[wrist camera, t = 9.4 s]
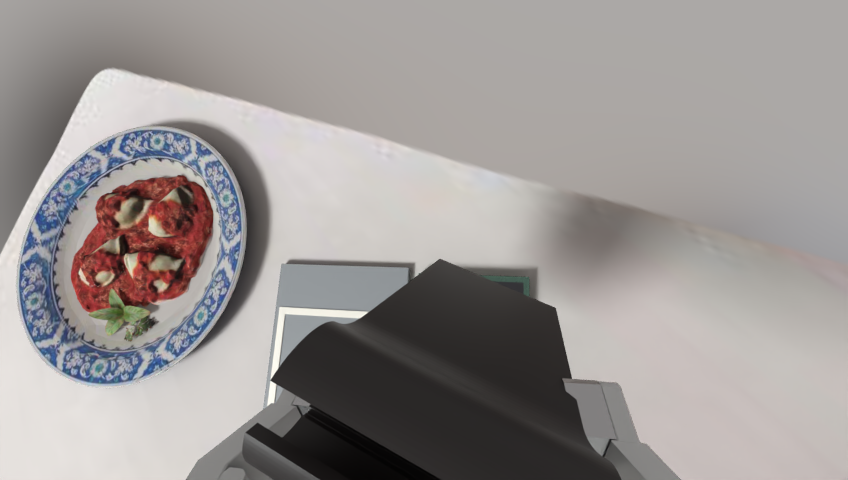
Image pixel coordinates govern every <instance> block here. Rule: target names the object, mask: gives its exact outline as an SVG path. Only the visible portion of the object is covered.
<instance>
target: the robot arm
mask: <svg viewBox="0 0 848 480" xmlns="http://www.w3.org/2000/svg"><path fill="white" fill-rule="evenodd" d="M561 380H562V382H563V385H564V388H565V390H566V392H568V393H569V394H570V395H572V396H573V397H574V398H575V399H577V403H578V407H579V412H580V416H581V420H582V424H583V428H584V431H585V434H586V436H587V439H588V441H589V442H590V444H591V446H592V447H593V448H594V449H595V450H596V451H597V452H598V453H599V454H600V455H601V456H603V457H605V458H606V459H608V460H609V461H610V462H612V464H613V465H614V466H615V468H616V469H617V471H618V473H619V475H620V477H621V480H681V479H680V478H679V477H678V476H677V475H676V474H675V473H674V472H673V471H672V470H671V469H670V468H669V467H668V466H667V465H666V464H665V463H664V462H663V461H662V460H661V459H660V457H659V456H658V455H657V454H656V453H655V452H654V451H653V450H652V449H651V448H650V447H649V446H648V445H647V444H644V443H640V441H639V438H638V435H637V432H636V429H635V426H634V424H633V421H632V418H631V415H630V412H629V409H628V406H627V404H626V401H625V398H624V395H623V392H622V389H621V387H620V385H619V384H618V383H616V382H600V381H595V380H579V379H564V378H562V379H561ZM309 405H311V404H310V403H308V402H306V401H304V400H303V399H301V398H299V397H297V396H296V395H294V394H292V393H291V392H289V391H287V390H285V389H283V391H282V392H281V394H280V396H279V398H278V400H277V402H276V403H271V404H270V405H268V406H267V407H266V408H264V409H263V410H262V411H261V412H259V413H258V414H257V415H256V416H254V417H253V418H252V419H250V420H249V421H248V422H247V423H245V424H244V425H243V426H241V427H240V428H239V429H238V430H236V431H235V432H234V433H233V434H231V435H230V436H229V437H227V438H226V439H225V440H224V441H222V442H221V443H220V444H219V445H217V446H216V447H215V448H213V449H212V450H211V451H210V452H208V453H207V454H206V455H204V456H203V457H202V458H201V459H199V460H198V461H197V463H196V464H195V466H194V468H193V469H192V471H191V472H190V474H189V475H188V477H187V479H186V480H273V479H271V478H270V477H268V476H267V475H265V474H264V473H262V472H261V471H259V470H258V469H256V468H255V467H253V466H251V465H250V464H248V463H247V462H246V461H245V460H244V458H243V455H242V445H243V439H244V435H245V432H246V431H248V430H249V429H250V428H251V427H253V426H254V425H255V424H256V423H257V422H258V423H259V424H261V425H262V426H264V427H266V428H267V429H269V430H271V431H272V432H274V433H275V434H277V435H279V436H280V437H283V436H284V435H285V434H286V433H287V432H288V431H289V430H290V429H291V428H292V427H293V426H294V425H295V424H296V422H297V421H298V420H299V419H300V418H301V416H302V415H304V414H306V412H307V410H308V407H309Z"/></svg>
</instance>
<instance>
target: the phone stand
mask: <svg viewBox="0 0 848 480" xmlns="http://www.w3.org/2000/svg"><path fill="white" fill-rule="evenodd" d="M562 378H564V379H572V377H571V373H570V368H569V364H568V360H567V355H566V351H565V347H564V342H563V338H562V334H561V329H560V325H559V321H558V316H557V312H556V308H554V307H552V306H550V305H547V304H545V303H543V302H540V301H538V300H536V299H533V298H531V297H529V296H526V295H524V294H522V293H519V292H517V291H514V290H512V289H510V288H507V287H505V286H503V285H500V284H498V283H496V282H493V281H491V280H489V279H486V278H484V277H482V276H479V275H477V274H475V273H472V272H470V271H467V270H465V269H463V268H460V267H458V266H456V265H453V264H451V263H449V262H446V261H444V260H442V259H439V260H438V261H436V262H435V263H434V264H432V265H431V266H430V267H428V268H427V269H426V270H424V271H423V272H422V273H420V274H419V275H418V276H416V277H415V278H414V279H412V280H411V281H410V282H408V283H407V284H406V285H404V286H403V287H402V288H400V289H399V290H398V291H396V292H395V293H394V294H392V295H391V296H390V297H388V298H387V299H385V300H384V301H383V302H381V303H380V304H379V305H377V306H376V307H375V308H373V309H372V310H371V311H369V312H368V313H367V314H365V315H364V316H363V317H361V318H360V319H358V320H356V321H354V322H352V323H348V324H341V323H338V322H335V321H330V322H326V323H324V324H322V325H320V326H318V327H317V328H315V329H314V330H313V331H311V332H310V333H309V334H308V335H307V336H306V337H305V338H304V339H303V340H302V341H301V342H300V343H299V344H298V345H297V346H296V347H295V348H294V349H293V350H292V351H291V353H290V354H289V355H288V356H287V357H286V359H285V360H284V361H283V363H282V364H281V365H280V367H279V368H278V369H277V371H276V372H275V374H274V375H273V377H272V378H271V380H270V381H272V382H273V383H275V384H277V385H278V386H280V387H282V388H284V389H285V390H287V391H289V392H291V393H292V394H294V395H296V396H297V397H299V398H301V399H303V400H304V401H306V402H308V403H310V404H311V405H309V407H308V410H307V412H306V414H304V415H302V416H301V418H300V419H299V420H298V421H297V422H296V424H295V425H294V426H293V427H292V428H291V429H290V430H289V431H288V432H287V433H286V434H285V435H284V436H283V437H280V436H279V435H277V434H275V433H274V432H272V431H271V430H269V429H267V428H266V427H264V426H262V425H261V424H259V423H258V422H257V423H256V424H255V425H254V426H253V427H251V428H250V429H249V430H248V431H246V432H245V435H244V439H243V445H242V455H243V458H244V460H245V461H246V462H247V463H248V464H250V465H251V466H253V467H255V468H256V469H258V470H259V471H261V472H262V473H264V474H265V475H267V476H268V477H270V478H271V479H273V480H621V477H620V475H619V473H618V471H617V469H616V468H615V466H614V465H613V464H612V462H610V461H609V460H608V459H606V458H605V457H603V456H601V455H600V454H599V453H598V452H597V451H596V450H595V449H594V448H593V447H592V446H591V444H590V442H589V441H588V439H587V436H586V434H585V431H584V428H583V424H582V420H581V416H580V412H579V407H578V403H577V399H575V398H574V397H573V396H572V395H570V394H569V393H568V392H566V390H565V388H564V385H563V382H562V380H561V379H562Z"/></svg>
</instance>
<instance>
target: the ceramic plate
mask: <svg viewBox="0 0 848 480" xmlns="http://www.w3.org/2000/svg"><path fill="white" fill-rule="evenodd" d="M246 237H247V220H246V210H245V204H244V199H243V195H242V192H241V189H240V186H239V183H238V181H237V179H236V176H235V174H234V173H233V171H232V169H231V167H230V166H229V164H228V163H227V162H226V160H225V159H224V157H223V156H222V155H221V154H220V153H219V152H218V151H217V150H216V149H215V148H214V147H213V146H211V145H210V144H209V143H208V142H206V141H205V140H203V139H202V138H200V137H198V136H197V135H195V134H193V133H190V132H188V131H185V130H182V129H179V128H174V127H168V126H145V127H138V128H133V129H129V130H126V131H123V132H119V133H117V134H115V135H112V136H110V137H108V138H106V139H104V140H102V141H100V142H98V143H96V144H95V145H93V146H92V147H90V148H89V149H88V150H86V151H85V152H84V153H82V154H81V155H79V156H78V157H77V158H76V159H75V160H74V161H73V162H72V163H70V164H69V165H68V166H67V167H66V168H65V169H64V170H63V171H62V173H61V174H60V175H59V176H58V177H57V179H56V180H55V181H54V182H53V183H52V184H51V186H50V187H49V188H48V190H47V192H46V193H45V195H44V196H43V198H42V200H41V201H40V203H39V204H38V206H37V208H36V210H35V212H34V214H33V216H32V219H31V221H30V223H29V225H28V228H27V230H26V232H25V235H24V238H23V242H22V247H21V251H20V256H19V260H18V265H17V276H16V293H17V303H18V310H19V315H20V321H21V323H22V326H23V328H24V331H25V333H26V335H27V338H28V340H29V342H30V344H31V345H32V347H33V349H34V351H35V352H36V353H37V355H38V356H39V357H40V358H41V359H42V360H43V361H44V362H45V363H46V364H47V365H48V366H49V367H50V368H51V369H52V370H54V371H55V372H56V373H58V374H59V375H61V376H63V377H64V378H66V379H68V380H70V381H73V382H75V383H78V384H81V385H85V386H89V387H96V388H115V387H123V386H127V385H131V384H135V383H138V382H141V381H144V380H147V379H150V378H152V377H154V376H156V375H158V374H160V373H162V372H164V371H166V370H168V369H169V368H170V367H172V366H173V365H175V364H176V363H178V362H179V361H180V360H182V359H183V358H184V357H186V356H187V355H188V354H189V353H190V352H191V351H192V350H194V349H195V348H196V346H197V345H198V344H199V343H200V342H201V341H202V340H203V339H204V338H205V337H206V336H207V334H208V333H209V332H210V331H211V329H212V328H213V327H214V325H215V324H216V322H217V321H218V319H219V318H220V316H221V315H222V313H223V312H224V310H225V308H226V306H227V304H228V302H229V300H230V298H231V296H232V293H233V291H234V289H235V287H236V284H237V281H238V278H239V275H240V272H241V268H242V264H243V260H244V254H245V248H246Z"/></svg>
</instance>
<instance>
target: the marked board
mask: <svg viewBox="0 0 848 480" xmlns="http://www.w3.org/2000/svg"><path fill="white" fill-rule="evenodd" d="M409 275H410V268H403V267H370V266H338V265H305V264H281V272H280V279H279V287H278V295H277V303H276V311H275V319H274V327H273V335H272V343H271V351H270V359H269V367H268V375H267V383H266V391H265V399H264V407H263V409H264V408H266V407H267V406H268V405H270V404H271V403H276V402H277V400H278V398H279V396H280V394H281V392H282V391H283V389H284V388H282V387H280V386H278V385H277V384H275V383H273V382H272V381H270V380H271V378H272V377H273V375H274V374H275V372H276V371H277V369H278V368H279V367H280V365H281V364H282V363H283V361H284V360H285V359H286V357H287V356H288V355H289V354H290V353H291V351H292V350H293V349H294V348H295V347H296V346H297V345H298V344H299V343H300V342H301V341H302V340H303V339H304V338H305V337H306V336H307V335H308V334H309V333H310V332H311V331H313V330H314V329H315V328H317V327H318V326H320V325H322V324H324V323H326V322H330V321H335V322H338V323H341V324H348V323H352V322H354V321H356V320H358V319H360V318H361V317H363V316H364V315H365V314H367V313H368V312H369V311H371V310H372V309H373V308H375V307H376V306H377V305H379V304H380V303H381V302H383V301H384V300H385V299H387V298H388V297H390V296H391V295H392V294H394V293H395V292H396V291H398V290H399V289H400V288H402V287H403V286H404V285H406V284H407V283H408V282H409Z"/></svg>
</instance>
